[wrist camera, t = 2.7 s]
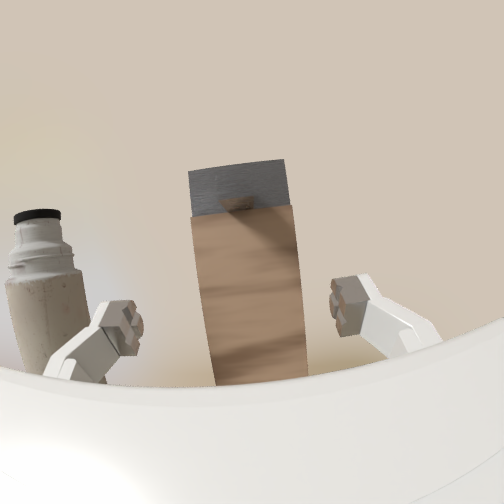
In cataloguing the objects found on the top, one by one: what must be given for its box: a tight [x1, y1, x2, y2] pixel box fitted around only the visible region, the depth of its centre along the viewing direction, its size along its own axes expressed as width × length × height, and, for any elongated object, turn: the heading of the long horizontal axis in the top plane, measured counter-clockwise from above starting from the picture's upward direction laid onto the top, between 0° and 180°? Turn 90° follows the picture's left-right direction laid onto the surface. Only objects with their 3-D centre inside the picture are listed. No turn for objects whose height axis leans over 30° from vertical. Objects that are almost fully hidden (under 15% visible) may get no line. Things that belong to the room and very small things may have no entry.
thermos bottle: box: [5, 209, 107, 384], centre depth 20 cm, size 8×8×28 cm
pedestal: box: [191, 205, 308, 386], centre depth 30 cm, size 6×10×26 cm, turn 90°
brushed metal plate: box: [188, 159, 290, 217], centre depth 25 cm, size 13×10×5 cm
